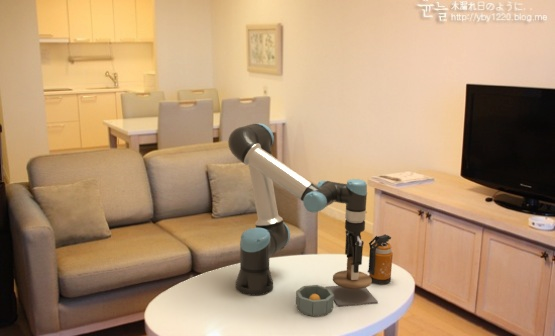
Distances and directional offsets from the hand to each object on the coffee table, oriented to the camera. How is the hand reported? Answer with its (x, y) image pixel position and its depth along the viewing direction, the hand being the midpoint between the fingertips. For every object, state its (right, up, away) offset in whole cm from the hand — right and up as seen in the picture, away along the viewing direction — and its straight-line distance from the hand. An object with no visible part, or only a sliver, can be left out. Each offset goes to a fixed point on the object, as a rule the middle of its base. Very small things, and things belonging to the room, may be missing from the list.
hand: (352, 276), depth 220 cm
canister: (+13, -5, +16) cm, 21 cm away
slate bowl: (-15, -10, -8) cm, 20 cm away
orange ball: (-15, -7, -9) cm, 19 cm away
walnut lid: (0, -2, 0) cm, 2 cm away
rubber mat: (0, -8, +2) cm, 8 cm away
